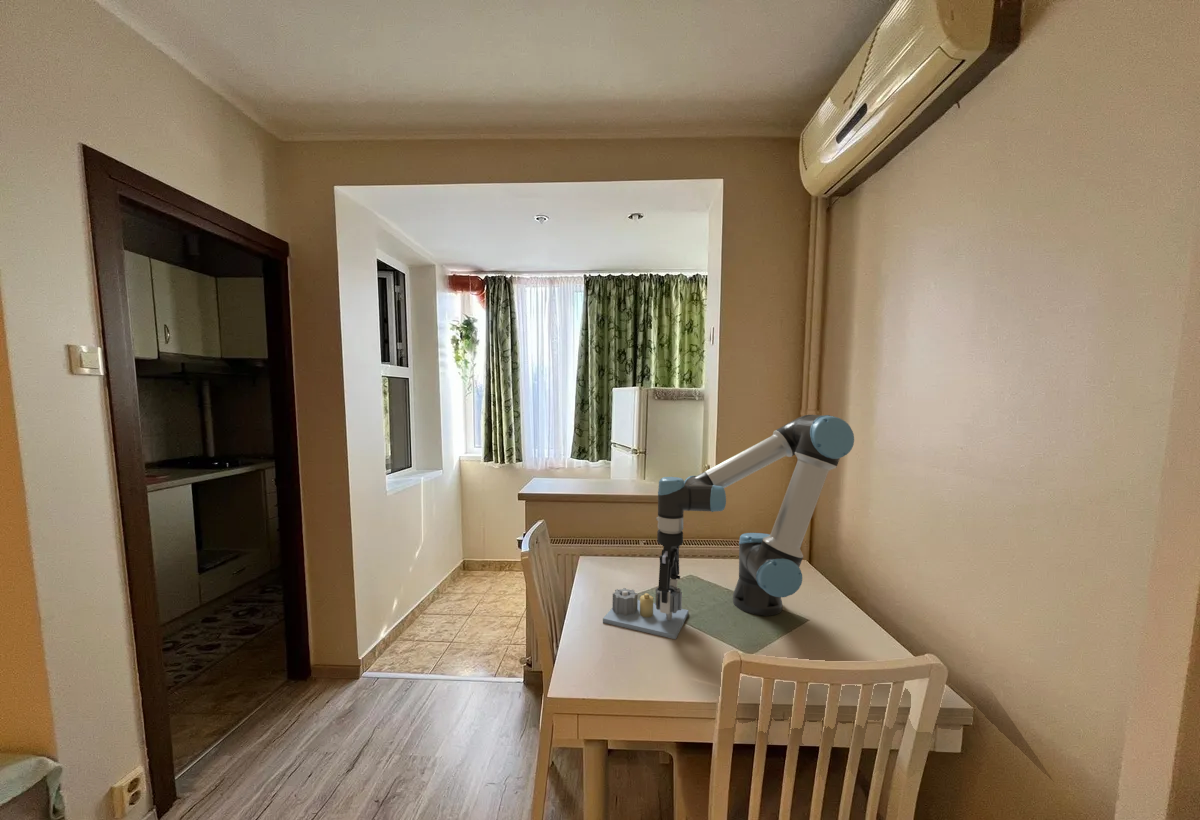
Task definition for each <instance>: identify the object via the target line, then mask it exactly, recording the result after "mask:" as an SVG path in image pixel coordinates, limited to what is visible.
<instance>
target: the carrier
mask: <svg viewBox="0 0 1200 820" xmlns="http://www.w3.org/2000/svg"><path fill="white" fill-rule="evenodd" d="M638 594H639V593H638V592H635V590H634V589H632V588H631V589H630V588H629V589H627V588H625V587H623V588H620V589H618V588H616V589H615V590H614V592H612V607H611V609H610V610H608V612H607V613H606V614H605V615H604V617H603V618H602V623H604V624H609V625H612V626H615V627H616V626H617V627H621V628H625V629H629V630H634V631H636V632H637V631H638V632H642V633H647V634H651V635H654V636H658V637H659V636H660V637H664V638H667V639H672V640H676V639H677V637H678V636H679V634H680V632H681V630H682V628H683V625H684V624H685V621H686V619H687V618H688V615H689V609H686V608H685V609H684V608H682V609H681V610H678V611H677V612H676V613H673V612H670V614H666V613H662V612H660V610H657V609H656V605H655V602H654V597H653V596H652V595H650V594H649V593H644V594H642V595H640V597H638ZM638 598H639V599H638Z"/></svg>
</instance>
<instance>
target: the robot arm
mask: <svg viewBox="0 0 1200 820" xmlns="http://www.w3.org/2000/svg"><path fill="white" fill-rule="evenodd" d="M854 444H855V434H854V431H853V429H852V427H851V426H850V424H849V423H848V422H847V421H845V420H844V419H842V418H840V417H837V416H833V415H830V414H825V415H819V414H806V415H805V414H804V415H802V416H798V417H797V418H795V419H792V420H791V421H789V422H787V423H786V424H784V425H782V426H780V427H779V428H777V429H774V430H773V432H772V435H771V436H769V437H767V438H765V439H763V440H761V441H759V442H758V443H756V444H754V445H751V446H750V447H748V448H746V449H744V450H743V451H741V452H739V453H737V454H735V455H733V456H731V457H730V458H728V459H725V460H723V461H722V462H721V463H718V464H717V465H715V466H713V467H710V468H709V469H707V470H704V472H701V473H699V474H697V475H690V476H687V478H686V479H685V480H684V479H683V478H681V477H676V476H664V477H661V478H660V479H659V481H658V491H657V517H655V520H656V521H657V537H656V538H657V539H656V541H657V543H658V544H659V545H661V546H662V547H663V549H662V550H661V554H660V555H659V569H658V570H659V571H658V572H659V573H658V574H659V575H658V587H656V588H657V590H658V591H660V612H662V613H666V614H670V590H669V587H670V585H672V586H673V587H675V588H678V580H681V576H680V546H682V545H683V543H684V532H683V530H684V511H686V512H687V511H688V512H690V511H691V512H711V513H713V512H723V511H724V510H725V509H726V505H727V494H726V490H725V489H726V488H727V487H729V486H731V485H733V484H735V483H737V482H739V481H741V480H742V479H745V478H746V477H748V476H751V475H752V474H754V473H756V472H758V471H759V470H762V469H763V468H765V467H767V466H769V465H771V464H773V463H775V462H777V461H779V460H781V459H782V458H784V457H788V458H791V457H793V456H795V457H796V458H797V461H796V464H795V467H794V469H793V472H792V474H791V475H792V476H791V477H790V480H789V483H788V486H787V489H786V491H785V494H784V497H783V500H782V502H781V505H780V508H779V511H778V513H777V515H776V519H775V521H774V524H773V526H772V529H771V532H770V533H762V532H744V533H742V534H741V535H740V536H739V542H738V545H739V547H738V551H739V552H738V580H737V582H736V584H735V585H736V586H735V588H734V590H733V594H732V603H733V605H734V606H735V607H736V608H737V609H739V610H741V611H743V612H745V613H749V614H751V615H757V616H763V617H764V616H765V617H766V616H775V615H777V614H780V613H781V612H782V610H783V600H782V598H787V597H790V596H792V595H794V594H795V593H796V592H798V590H799V589H800V588H801V586H802V582H803V573H802V570H801V564H802V561H803V559H804V554H803V552H802V550H801V547H802V544H803V541H804V538H805V535H806V533H807V530H808V528H809V525H810V522H811V519H812V517H813V515H814V512H815V509H816V506H817V503H818V502H819V497H821V496H820V495H821V493H822V491H823V487H824V485H825V482H826V479H827V477H828V474H829V472H830V471H832V470H834V469H836V468H837V467H838V465H839V462H840V459H841V458H843V457H845V456H848V454H849V453H850V452H851V451H852V449H853V446H854Z"/></svg>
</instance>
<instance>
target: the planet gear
mask: <svg viewBox="0 0 1200 820" xmlns="http://www.w3.org/2000/svg"><path fill="white" fill-rule="evenodd" d="M657 588H658V587H656V588H655V602H654V603H655V605H656V609H657V610H660V591H658V590H657ZM669 590H670V612H673V613H676V612H677V611H678V610H681V609H683V607H682V605H683V603H682V602H683V599H682V597H683V594H682V593H683V592H682V589H681V588H680V587H677V588H675V587H673V586H672V585H670V587H669Z"/></svg>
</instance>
